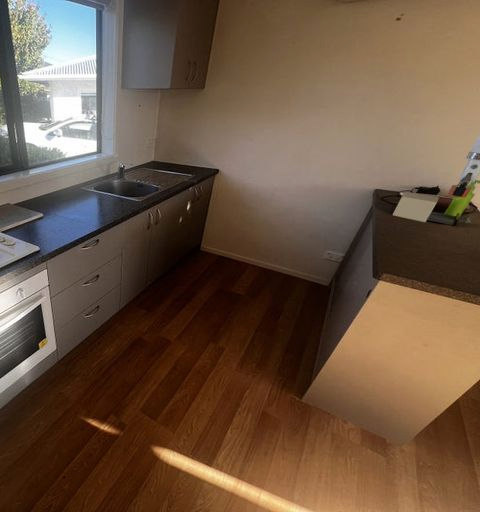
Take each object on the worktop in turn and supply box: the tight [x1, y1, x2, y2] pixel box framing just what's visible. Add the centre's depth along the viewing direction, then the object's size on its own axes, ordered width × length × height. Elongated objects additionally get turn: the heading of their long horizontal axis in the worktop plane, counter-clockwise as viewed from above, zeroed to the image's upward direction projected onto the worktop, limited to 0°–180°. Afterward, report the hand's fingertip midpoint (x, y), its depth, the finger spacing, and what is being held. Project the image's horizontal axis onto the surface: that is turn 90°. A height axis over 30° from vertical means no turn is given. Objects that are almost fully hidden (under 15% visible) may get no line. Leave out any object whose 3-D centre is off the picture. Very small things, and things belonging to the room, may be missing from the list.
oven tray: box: [426, 211, 472, 227], centre depth 149 cm, size 16×14×3 cm
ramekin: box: [446, 184, 471, 198], centre depth 143 cm, size 6×6×5 cm
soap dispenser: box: [443, 179, 480, 217], centre depth 153 cm, size 6×7×20 cm
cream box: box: [392, 191, 440, 223], centre depth 156 cm, size 13×14×11 cm
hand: (457, 193), depth 144 cm, fingers closed on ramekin, 6 cm apart
